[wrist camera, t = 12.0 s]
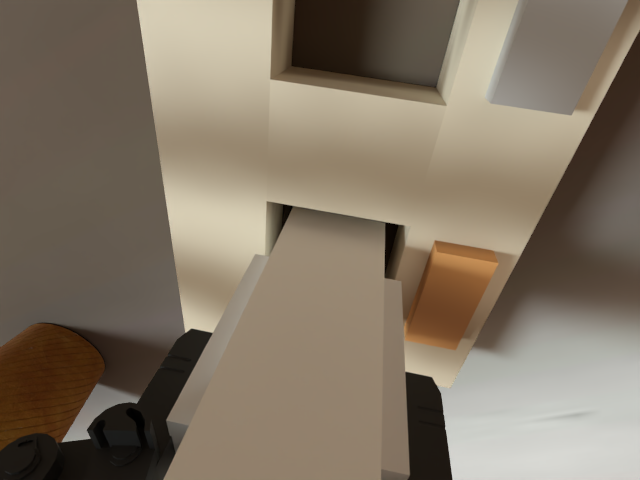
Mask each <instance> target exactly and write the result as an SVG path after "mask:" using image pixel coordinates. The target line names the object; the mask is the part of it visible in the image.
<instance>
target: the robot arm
mask: <svg viewBox="0 0 640 480" xmlns="http://www.w3.org/2000/svg"><path fill="white" fill-rule="evenodd" d="M268 258H269V256H264V255H258V254H255V255H254V257H253V259H252V261H251V263H250V265H249V267H248V268H247V270H246V272H245V274H244V276H243V278H242V280H241V281H240V283H239V285H238V287H237V289H236V291H235V293H234V295H233V296H232V298H231V300H230V302H229V304H228V306H227V308H226V309H225V311H224V313H223V315H222V317H221V319H220V321H219V323H218V324H217V326H216V328H215V330H214V332H213V333H211V332H206V331H201V330H197V329H192V328H191V329H190V330H189V331H187V332H186V333H185V334H184V335H182V336H181V337H180V338H179V339H177V341H176V342H175V344H174V346H173V347H172V349H171V350H170V352H169V354H168V357H166V358H165V360H164V361H163V363H162V365H161V367H160V369H158V371H157V373H156V374H155V376H154V377H153V379H152V380H151V382H150V384H149V385H148V387H147V388H146V390H145V392H144V393H143V395H142V396H141V398H140V399H139V401H138V403H137V404H136V403H131V402H129V403H122V404H117V405H115V406H113V407H111V408H109V409H106V410H105V411H104V412H102V413H101V414H100V415H99V416H98V417H96V418H95V419H94V421H93V422H92V423H91V425H90V426H89V428H88V429H87V431H88V433H89V436H90V438H91V439H86V440H78V441H70V442H62V443H57V442H56V440H55V439H54V438H53V437H51V436H50V435H48V434H43V433H34V434H30V435H26V436H23V437H20V438H19V439H17V440H15V441H13V442H11V443H10V444H8V445H7V446H6V447H4V448H3V449H2V450H1V451H0V480H163V479H164V477H165V475H166V473H167V471H168V469H169V467H170V465H171V463H172V461H173V458H174V456H175V454H176V452H177V450H178V448H179V446H180V444H181V442H182V439H183V437H184V435H185V433H186V431H187V429H188V427H189V425H190V423H191V421H192V418H193V416H194V414H195V412H196V410H197V408H198V406H199V404H200V402H201V399H202V397H203V395H204V393H205V391H206V389H207V387H208V385H209V383H210V381H211V378H212V376H213V374H214V372H215V370H216V368H217V366H218V364H219V362H220V359H221V357H222V355H223V353H224V351H225V349H226V347H227V345H228V343H229V341H230V338H231V336H232V334H233V332H234V330H235V328H236V326H237V324H238V322H239V319H240V317H241V315H242V313H243V311H244V309H245V307H246V305H247V303H248V301H249V298H250V296H251V294H252V292H253V290H254V288H255V286H256V284H257V282H258V279H259V277H260V275H261V273H262V271H263V269H264V267H265V265H266V263H267V261H268ZM381 480H452V473H451V466H450V458H449V451H448V443H447V436H446V430H445V420H444V415H443V405H442V398H441V393H440V391H439V389H438V387H437V385H436V384H435V382H434V380H433V378H432V377H429V376H424V375H420V374H415V373H410V372H405V354H404V331H403V308H402V285H401V281H397V280H392V279H386V278H384V331H383V390H382V449H381Z"/></svg>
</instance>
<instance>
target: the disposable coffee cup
mask: <svg viewBox="0 0 640 480" xmlns="http://www.w3.org/2000/svg"><path fill="white" fill-rule="evenodd" d="M104 370H105V364H104V360H103V359H102V357H101V355H100V354H99V352H98V351H97V350H96V349H95V348H94V347H93V346H92V345H91V344H90V343H89V342H88V341H86V340H85V339H84V338H82V337H81V336H79V335H78V334H76V333H74V332H72V331H70V330H68V329H65V328H63V327H60V326H56V325H52V324H45V323H40V324H34V325H31V326H30V327H28V328H27V329H25V330H24V331H23V332H21V333H20V334H19V335H17V336H16V337H14V338H13V339H11V340H10V341H9V342H7V343H6V344H5V345H3V346H2V347H0V451H1V450H2V449H3V448H4V447H6V446H7V445H8V444H10V443H11V442H13V441H15V440H17V439H19V438H20V437H23V436H26V435H30V434H34V433H43V434H48V435H50V436H51V437H53V438H54V439H55V440H56V442H57V443H61V442H62V440H63V438H64V437H65V435H66V434H67V432H68V430H69V428H70V427H71V425H72V424H73V422H74V420H75V418H76V417H77V415H78V414H79V412H80V410H81V408H82V407H83V405H84V404H85V402H86V400H87V399H88V397H89V395H90V394H91V392H92V390H93V389H94V387H95V385H96V384H97V382H98V380H99V379H100V377H101V376H102V374H103V372H104Z"/></svg>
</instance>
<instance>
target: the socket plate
mask: <svg viewBox="0 0 640 480" xmlns="http://www.w3.org/2000/svg"><path fill="white" fill-rule="evenodd" d="M137 5H138V12H139V19H140V26H141V33H142V40H143V46H144V53H145V60H146V67H147V74H148V80H149V87H150V94H151V101H152V108H153V115H154V121H155V128H156V135H157V142H158V149H159V156H160V162H161V169H162V176H163V183H164V190H165V196H166V203H167V210H168V217H169V224H170V231H171V237H172V244H173V251H174V258H175V265H176V272H177V278H178V285H179V292H180V299H181V306H182V313H183V319H184V326H185V333H186V332H187V331H189V330H190V329H191V328H192V329H197V330H201V331H206V332H211V333H213V332H214V330H215V328H216V326H217V324H218V323H219V321H220V319H221V317H222V315H223V313H224V311H225V309H226V308H227V306H228V304H229V302H230V300H231V298H232V296H233V295H234V293H235V291H236V289H237V287H238V285H239V283H240V281H241V280H242V278H243V276H244V274H245V272H246V270H247V268H248V267H249V265H250V263H251V261H252V259H253V257H254V255H255V254H258V255H264V256H270V254H271V252H272V250H273V248H274V246H275V244H276V242H277V239H278V237H279V235H280V233H281V231H282V214H283V204H286V205H292V206H297V207H303V208H309V209H314V210H320V211H325V212H331V213H337V214H342V215H348V216H354V217H359V218H365V219H371V220H376V221H382V222H388V223H393V224H399V225H398V229H397V233H396V236H395V240H394V244H393V247H392V251H391V255H390V258H389V262H388V265H387V269H386V273H385V276H384V278H386V279H392V280H397V281H401V285H402V308H403V331H404V354H405V372H410V373H415V374H420V375H424V376H429V377H432V378H433V380H434V382H435V384H436V385H437V386H442V387H446V388H451V386H452V384H453V382H454V380H455V379H456V377H457V375H458V373H459V371H460V369H461V367H462V365H463V363H464V361H465V360H466V358H467V356H468V354H469V352H470V350H471V348H472V346H473V344H474V343H475V341H476V339H477V337H478V335H479V333H480V331H481V329H482V327H483V325H484V324H485V322H486V320H487V318H488V316H489V314H490V312H491V310H492V308H493V307H494V305H495V303H496V301H497V299H498V297H499V295H500V293H501V291H502V290H503V288H504V286H505V284H506V282H507V280H508V278H509V276H510V274H511V272H512V271H513V269H514V267H515V265H516V263H517V261H518V259H519V257H520V255H521V254H522V252H523V250H524V248H525V246H526V244H527V242H528V240H529V238H530V236H531V235H532V233H533V231H534V229H535V227H536V225H537V223H538V221H539V219H540V218H541V216H542V214H543V212H544V210H545V208H546V206H547V204H548V202H549V200H550V199H551V197H552V195H553V193H554V191H555V189H556V187H557V185H558V183H559V182H560V180H561V178H562V176H563V174H564V172H565V170H566V168H567V166H568V165H569V163H570V161H571V159H572V157H573V155H574V153H575V151H576V149H577V147H578V146H579V144H580V142H581V140H582V138H583V136H584V134H585V132H586V130H587V129H588V127H589V125H590V123H591V121H592V119H593V117H594V115H595V113H596V111H597V110H598V108H599V106H600V104H601V102H602V100H603V98H604V96H605V94H606V93H607V91H608V89H609V87H610V85H611V83H612V81H613V79H614V77H615V75H616V74H617V72H618V70H619V68H620V66H621V64H622V62H623V60H624V58H625V57H626V55H627V53H628V51H629V49H630V47H631V45H632V43H633V41H634V39H635V38H636V36H637V34H638V32H639V30H640V0H460V3H459V7H458V10H457V14H456V18H455V21H454V25H453V29H452V32H451V36H450V40H449V43H448V47H447V50H446V54H445V58H444V61H443V65H442V69H441V72H440V76H439V80H438V83H437V87H436V88H435V87H429V86H422V85H415V84H408V83H402V82H395V81H388V80H381V79H375V78H368V77H361V76H354V75H348V74H341V73H334V72H328V71H321V70H314V69H307V68H301V67H294V66H291V63H292V47H293V30H294V13H295V0H137Z"/></svg>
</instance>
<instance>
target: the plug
mask: <svg viewBox="0 0 640 480" xmlns="http://www.w3.org/2000/svg"><path fill="white" fill-rule="evenodd" d="M384 272H385V223H383V222H378V221H372V220H366V219H361V218H355V217H349V216H344V215H338V214H332V213H327V212H321V211H315V210H310V209H304V208H298V207H293V208H292V210H291V212H290V214H289V216H288V218H287V221H286V223H285V225H284V227H283V229H282V231H281V233H280V235H279V237H278V239H277V242H276V244H275V246H274V248H273V250H272V252H271V254H270V256H269V258H268V261H267V263H266V265H265V267H264V269H263V271H262V273H261V275H260V277H259V279H258V282H257V284H256V286H255V288H254V290H253V292H252V294H251V296H250V298H249V301H248V303H247V305H246V307H245V309H244V311H243V313H242V315H241V317H240V319H239V322H238V324H237V326H236V328H235V330H234V332H233V334H232V336H231V338H230V341H229V343H228V345H227V347H226V349H225V351H224V353H223V355H222V357H221V359H220V362H219V364H218V366H217V368H216V370H215V372H214V374H213V376H212V378H211V381H210V383H209V385H208V387H207V389H206V391H205V393H204V395H203V397H202V399H201V402H200V404H199V406H198V408H197V410H196V412H195V414H194V416H193V418H192V421H191V423H190V425H189V427H188V429H187V431H186V433H185V435H184V437H183V439H182V442H181V444H180V446H179V448H178V450H177V452H176V454H175V456H174V458H173V461H172V463H171V465H170V467H169V469H168V471H167V473H166V475H165V477H164V479H163V480H381V449H382V390H383V331H384Z"/></svg>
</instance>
